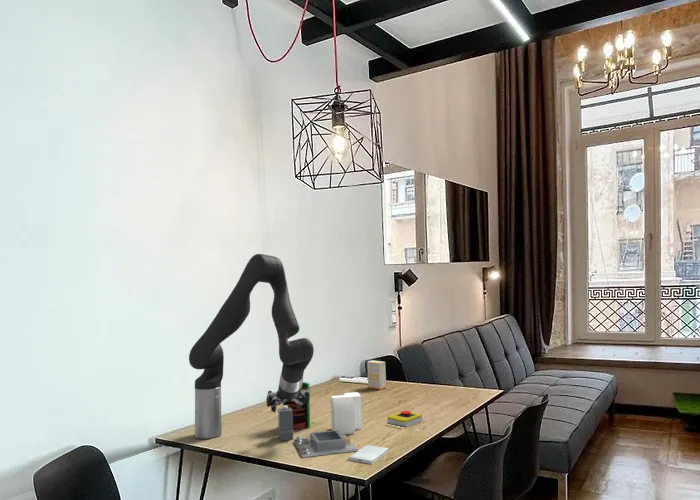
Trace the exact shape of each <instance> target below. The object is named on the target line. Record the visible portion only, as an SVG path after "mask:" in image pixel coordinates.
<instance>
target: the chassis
mask: <svg viewBox="0 0 700 500" xmlns="http://www.w3.org/2000/svg"><path fill="white" fill-rule="evenodd" d="M309 435H310V436H309V437H307V438H306V437H305V438H302V437H301V436H297V437H296V439H293V442H294V445H295V447H296V448H297V451H298V452H299V454H300V455H301V457H302V458H309V457H319V456H328V455H335V454H336V455H337V454H343V453H351V452H352V453H354V452H357V451H359V450H358V448H357V447H356V445H355V443H353V442H352V441H351V438H349V436H347V434H342V435H341V434H340V433H339V431H338V430H332V429H331V430H324V431H316V432H315V431H314V432H310V433H309Z"/></svg>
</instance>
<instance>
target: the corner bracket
mask: <svg viewBox="0 0 700 500" xmlns="http://www.w3.org/2000/svg"><path fill="white" fill-rule="evenodd" d="M330 398H331V399H330V405H331V406H330V414H331V419H330V420H331V431H332V430H338V431H339V433H340V434H341V435H342V434H345V435H352V434H356V430H363V429H362V428H363V427H362V426H363V424H362V421H363V420H362V419H363V418H362V396H361V394H360V393H359V392H357V391H356V392H344V393H343V394H341V395H331V396H330Z"/></svg>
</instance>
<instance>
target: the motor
mask: <svg viewBox="0 0 700 500" xmlns="http://www.w3.org/2000/svg"><path fill="white" fill-rule="evenodd" d="M305 388H309V394H310V393H311V384H310V383H309V382H305V381H303V384H302V388H301V390H305ZM301 397H302V398H303V397H304V395H303V394H302V395H301ZM284 405H287V406H288V408H291V409H292V410H293V431H299V430H304V429H310V428H311V394H310V395H309V403H303V405H302V408H301V409H300V410H298V408H297V403H296V402H294V401H293V402H283V403H282V406H284Z"/></svg>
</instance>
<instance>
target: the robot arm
mask: <svg viewBox="0 0 700 500" xmlns="http://www.w3.org/2000/svg"><path fill="white" fill-rule="evenodd" d="M258 283H265V284H269V286H270V287H271V289H272V292H273V301H272V305H271V317H272V320H273V323H274V327H275V329H276V333H277V338H278V355H279V356H278V357H279V359H280V361H281V363H282V367H281V373H280V374H279V376H280V377H279V381H278V382H279V383H278V388H277V391H276V392H272V390H268V392H267V395H266V400H265V402H266V407H268V408H269V407H270V411H271V412H272V413H276V410H277V406H280V405H283V402H293V401H294V402H296V403H297V408H298V410H300V409H301V408H302V405H303V403H309V395H310V396H311V394H309V388H305V390H301V388H302V384H303V382H304V373H305V370H306V369H307V367H308V366H309V364H310V363H311V361H312V359H313V357H314V351H315V350H314V349H315V348H314V344H313V343H312V341H311V340H310V339H309V338H307V337H301V338H298V339H294V340H289V339H290V338H292V337H294V336H296V335H297V334H299V332H300V325H299V322H298V319H297V317H296V314H295V311H294V309H293V306H292V303H291V299H290V294H289V288H288V282H287V278H286V271H285V268H284V264H283V261H282V260H281V259H280V258H279V257H277V256H273V255H268V254H264V253H257V254H254V255H253V256H251V258H250V259H249V260H248V262H247V263H246V265H245V268H244V269H243V271H242V273H241V275H240V277H239V279H238V281H237V283H236V285H235V286H234V288H233V289H232V291H231V293H230V294H229V295H228V297H227V299H226V300H225V301H224V303H223V305H221V307H220V309H219V311H218V312H217V314H216V316H215V317H214V318H213V319H212V321H211V323H210V324H209V326H208V327H207V329H206V330H204V332H203V334H202V335H201V336H200V337H199V339H198V340H197V341H196V342H195V344H194V345H193V346H192V347H191V349H190V350H189V355H188V362H189V364H190V365H189V366H191V367H192V368H193V369H195V370H203V372H202V373H201V374H200V375H199V376H198V377H197V378H196V379H195V380H194V439H200V440H201V439H202V440H203V439H206V440H207V439H214V438H218V437H220V436H221V435H222V431H223V430H222V429H223V427H222V424H223V423H222V381H223V378H224V358H225V357H224V354H225V353H224V350H223V347H222V342H224V341H225V340H226V339H227V338H229V337H230V336H232V335H233V334H234V333H235V332H237V331H238V330H239V329H240V328H241V326H242V325H243V323H244V322H245V321H246V319H247V317H249V314H250V311H251V298H250V297H251V294H252V291H253V289H254V288H255V287H256V285H257V284H258ZM302 394H303V395H304V397H303V398H302V397H301V395H302Z"/></svg>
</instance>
